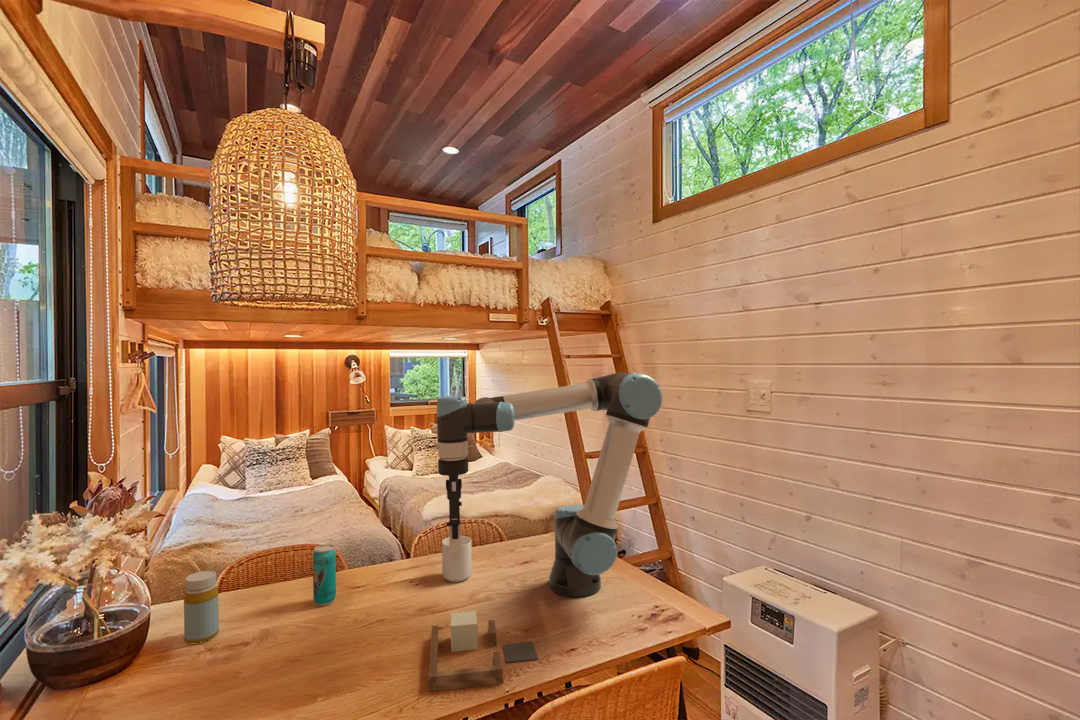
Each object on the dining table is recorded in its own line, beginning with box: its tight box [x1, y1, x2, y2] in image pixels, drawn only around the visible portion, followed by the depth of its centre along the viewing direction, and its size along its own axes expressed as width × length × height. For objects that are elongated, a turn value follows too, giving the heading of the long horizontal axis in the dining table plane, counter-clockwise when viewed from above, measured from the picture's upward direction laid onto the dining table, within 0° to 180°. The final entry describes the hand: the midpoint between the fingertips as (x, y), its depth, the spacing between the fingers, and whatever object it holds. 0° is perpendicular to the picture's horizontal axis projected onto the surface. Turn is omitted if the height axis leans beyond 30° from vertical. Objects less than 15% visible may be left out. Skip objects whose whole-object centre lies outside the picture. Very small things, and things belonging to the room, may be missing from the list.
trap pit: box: [502, 640, 539, 664], centre depth 118 cm, size 7×7×1 cm
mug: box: [441, 535, 473, 583], centre depth 160 cm, size 12×9×11 cm
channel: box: [428, 619, 504, 693], centre depth 116 cm, size 15×20×3 cm
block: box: [450, 610, 478, 653], centre depth 122 cm, size 6×6×6 cm
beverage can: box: [312, 544, 337, 607], centre depth 142 cm, size 6×6×15 cm
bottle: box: [183, 570, 220, 644], centre depth 125 cm, size 7×7×15 cm
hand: (455, 541), depth 131 cm, fingers open, 13 cm apart
